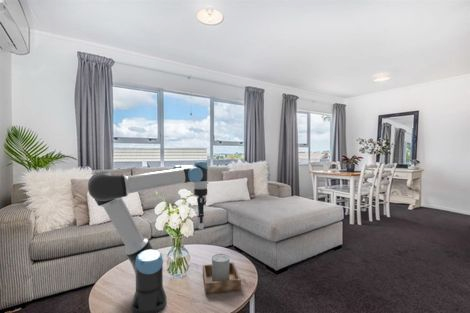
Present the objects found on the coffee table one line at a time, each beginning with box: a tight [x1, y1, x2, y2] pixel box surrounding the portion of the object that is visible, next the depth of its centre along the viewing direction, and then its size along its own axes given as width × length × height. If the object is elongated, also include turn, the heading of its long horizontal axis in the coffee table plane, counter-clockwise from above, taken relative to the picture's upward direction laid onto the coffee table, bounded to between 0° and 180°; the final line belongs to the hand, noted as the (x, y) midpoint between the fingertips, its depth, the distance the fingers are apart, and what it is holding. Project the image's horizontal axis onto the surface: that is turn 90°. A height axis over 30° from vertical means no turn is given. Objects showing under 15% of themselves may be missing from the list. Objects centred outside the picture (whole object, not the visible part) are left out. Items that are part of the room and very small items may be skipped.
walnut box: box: [202, 261, 242, 295], centre depth 127 cm, size 18×19×6 cm
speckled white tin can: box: [211, 253, 230, 282], centre depth 127 cm, size 10×10×12 cm
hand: (200, 224), depth 135 cm, fingers open, 13 cm apart
